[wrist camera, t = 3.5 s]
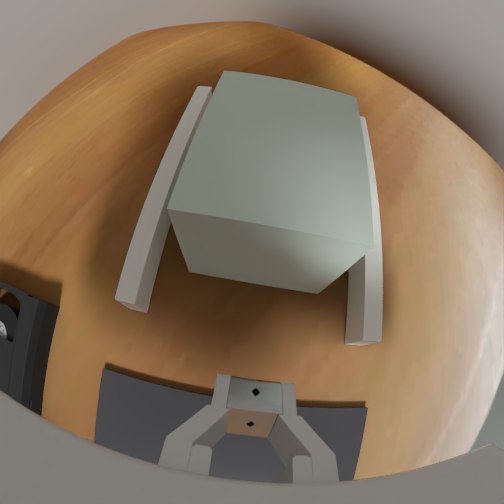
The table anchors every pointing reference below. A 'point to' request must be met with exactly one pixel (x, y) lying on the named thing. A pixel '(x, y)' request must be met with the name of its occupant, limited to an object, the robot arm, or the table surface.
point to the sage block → (274, 185)
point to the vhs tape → (25, 347)
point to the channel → (189, 403)
